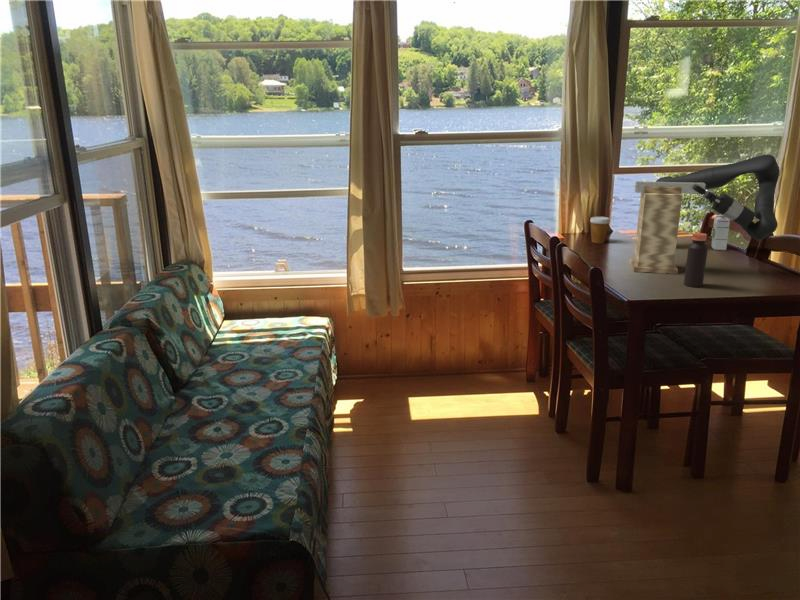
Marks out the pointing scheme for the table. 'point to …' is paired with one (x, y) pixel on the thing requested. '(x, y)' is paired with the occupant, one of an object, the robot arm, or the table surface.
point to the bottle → (696, 261)
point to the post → (657, 230)
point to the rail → (686, 186)
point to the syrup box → (720, 233)
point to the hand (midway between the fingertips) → (693, 186)
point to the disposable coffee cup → (599, 229)
